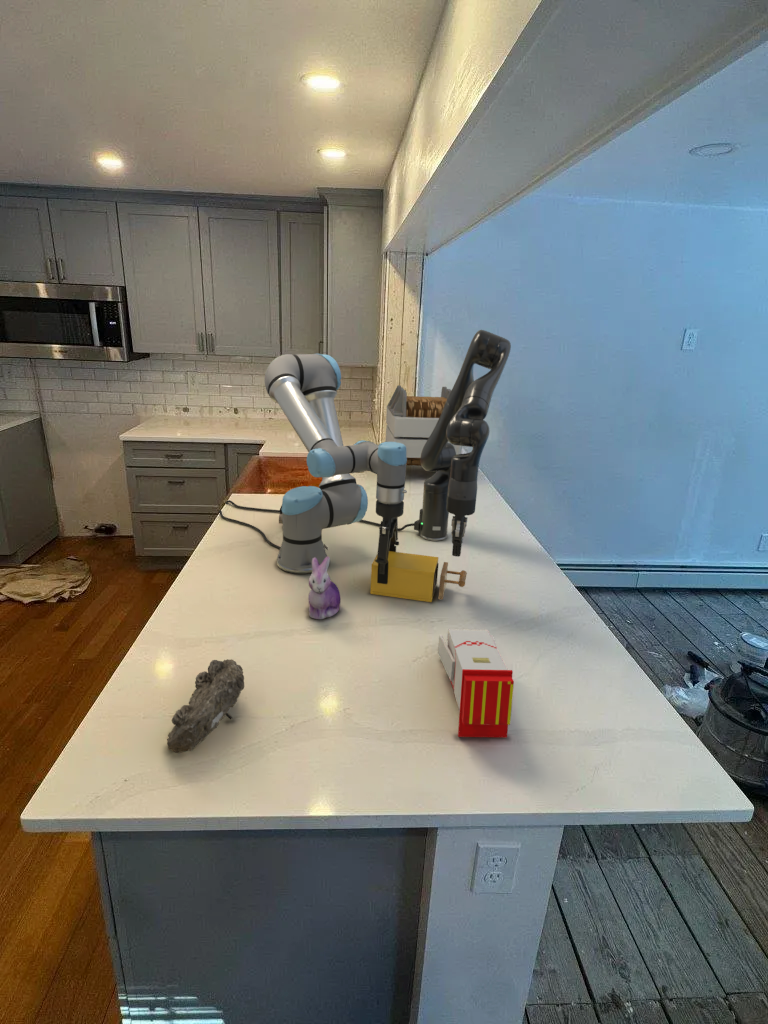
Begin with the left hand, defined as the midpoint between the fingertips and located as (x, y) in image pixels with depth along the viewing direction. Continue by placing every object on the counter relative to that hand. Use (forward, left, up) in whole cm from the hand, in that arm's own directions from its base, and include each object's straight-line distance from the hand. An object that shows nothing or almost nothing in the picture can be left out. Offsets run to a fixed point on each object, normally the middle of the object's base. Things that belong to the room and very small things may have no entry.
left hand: (386, 574), depth 160 cm
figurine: (-8, -20, -4) cm, 22 cm away
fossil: (-6, -65, -4) cm, 65 cm away
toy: (+35, -34, -4) cm, 49 cm away
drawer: (+11, +3, -3) cm, 12 cm away
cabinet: (+5, +1, -4) cm, 7 cm away
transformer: (-37, +116, -4) cm, 122 cm away
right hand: (+18, +5, +8) cm, 21 cm away
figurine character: (-52, +28, -4) cm, 58 cm away
